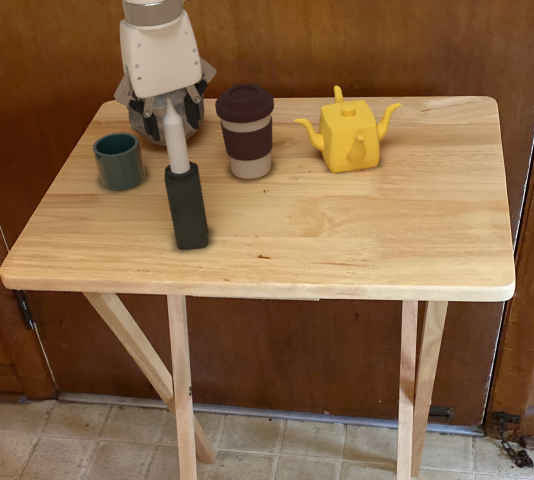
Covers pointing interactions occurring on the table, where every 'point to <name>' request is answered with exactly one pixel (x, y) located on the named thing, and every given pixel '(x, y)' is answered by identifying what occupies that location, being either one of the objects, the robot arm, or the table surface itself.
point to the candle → (183, 186)
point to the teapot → (348, 134)
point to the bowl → (160, 111)
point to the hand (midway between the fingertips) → (173, 130)
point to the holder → (119, 161)
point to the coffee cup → (247, 129)
